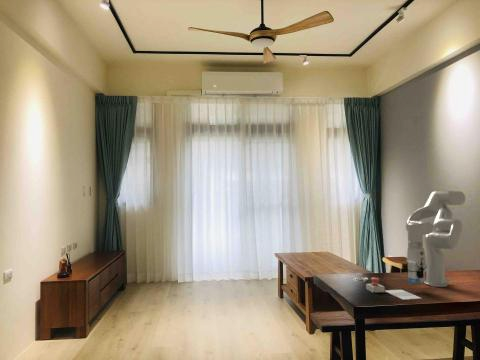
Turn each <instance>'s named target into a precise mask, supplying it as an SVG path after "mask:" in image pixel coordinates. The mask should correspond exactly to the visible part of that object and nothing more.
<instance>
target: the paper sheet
mask: <svg viewBox="0 0 480 360" xmlns="http://www.w3.org/2000/svg"><path fill="white" fill-rule="evenodd" d="M384 293H388V294H390V295H392V296H394V297H396V298H398V299H400V300H402V301H404V300H405V301H406V300H408V301H409V300H422V299H423V298H422V297H420V296H417V295H415V294H413V293H410V292H408V291H406V290H403V289H389V290H386V289H385V290H384Z"/></svg>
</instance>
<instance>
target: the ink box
mask: <svg viewBox="0 0 480 360" xmlns="http://www.w3.org/2000/svg"><path fill="white" fill-rule="evenodd" d="M420 265H421V264H420ZM420 268H421V266H420ZM425 269H426V268H425ZM425 269H424V271H423V276H424V277H423V278H418V271H419V270H418V266H417V264H416V262H413V261H408V263H407V276H408V277H407V279H408V281H407V282H408V283H412V284H418V283H419V284H420V283H424V281H425V280H426V277H425V274H426V273H425V271H426V270H425Z"/></svg>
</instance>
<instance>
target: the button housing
mask: <svg viewBox="0 0 480 360" xmlns="http://www.w3.org/2000/svg"><path fill="white" fill-rule="evenodd" d="M365 289H366V291H370V292H371V293H374V292H375V293H385V286H384V285H382V284H379V283H378V286H372V283H366V284H365Z"/></svg>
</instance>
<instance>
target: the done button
mask: <svg viewBox="0 0 480 360" xmlns="http://www.w3.org/2000/svg"><path fill="white" fill-rule="evenodd" d="M370 280H371V284H372V286H378V284H379V281H380V278H379V277H373V276H372V277H370Z"/></svg>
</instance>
